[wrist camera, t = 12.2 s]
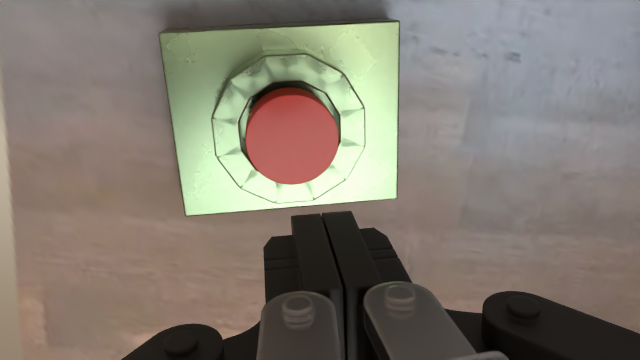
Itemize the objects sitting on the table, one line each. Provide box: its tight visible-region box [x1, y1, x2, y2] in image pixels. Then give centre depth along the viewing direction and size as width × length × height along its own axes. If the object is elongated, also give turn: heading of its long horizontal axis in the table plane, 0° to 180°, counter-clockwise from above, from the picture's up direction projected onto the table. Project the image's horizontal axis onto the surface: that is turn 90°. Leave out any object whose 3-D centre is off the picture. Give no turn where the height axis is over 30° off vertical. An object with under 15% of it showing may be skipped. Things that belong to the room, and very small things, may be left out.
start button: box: [245, 87, 339, 185], centre depth 22 cm, size 4×4×2 cm
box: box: [158, 18, 400, 216], centre depth 25 cm, size 11×9×4 cm
